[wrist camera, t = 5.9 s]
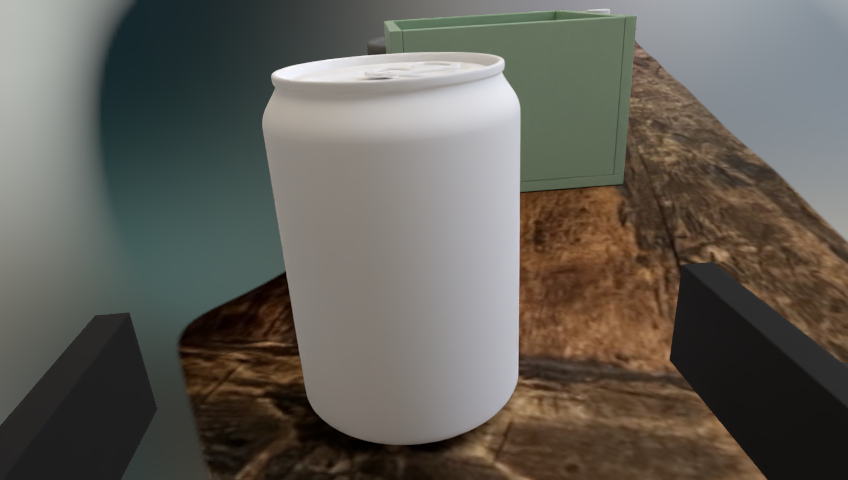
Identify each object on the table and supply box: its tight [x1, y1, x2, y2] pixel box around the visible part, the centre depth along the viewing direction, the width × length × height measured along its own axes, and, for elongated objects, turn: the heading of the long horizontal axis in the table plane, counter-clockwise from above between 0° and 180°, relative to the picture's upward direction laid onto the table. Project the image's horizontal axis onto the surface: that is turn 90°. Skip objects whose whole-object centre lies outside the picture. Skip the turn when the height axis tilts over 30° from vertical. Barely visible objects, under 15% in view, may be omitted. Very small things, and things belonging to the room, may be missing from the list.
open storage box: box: [384, 10, 637, 192], centre depth 49 cm, size 17×17×12 cm
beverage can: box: [262, 52, 520, 445], centre depth 20 cm, size 8×8×12 cm
